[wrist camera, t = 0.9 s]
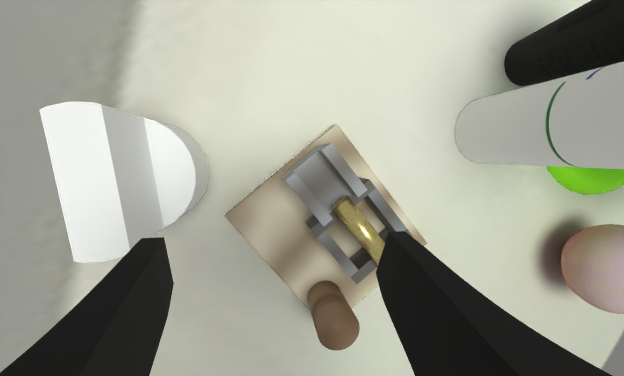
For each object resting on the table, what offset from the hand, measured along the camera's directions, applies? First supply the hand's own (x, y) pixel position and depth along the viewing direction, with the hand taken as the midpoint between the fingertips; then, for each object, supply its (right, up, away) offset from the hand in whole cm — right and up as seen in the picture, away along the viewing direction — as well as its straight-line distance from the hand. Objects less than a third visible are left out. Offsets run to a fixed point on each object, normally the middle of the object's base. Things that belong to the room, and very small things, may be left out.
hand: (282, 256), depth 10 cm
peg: (+2, -9, +21) cm, 23 cm away
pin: (+6, -2, +18) cm, 19 cm away
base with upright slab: (-13, +4, +19) cm, 23 cm away
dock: (+3, -2, +22) cm, 22 cm away
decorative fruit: (+32, -6, +27) cm, 42 cm away
